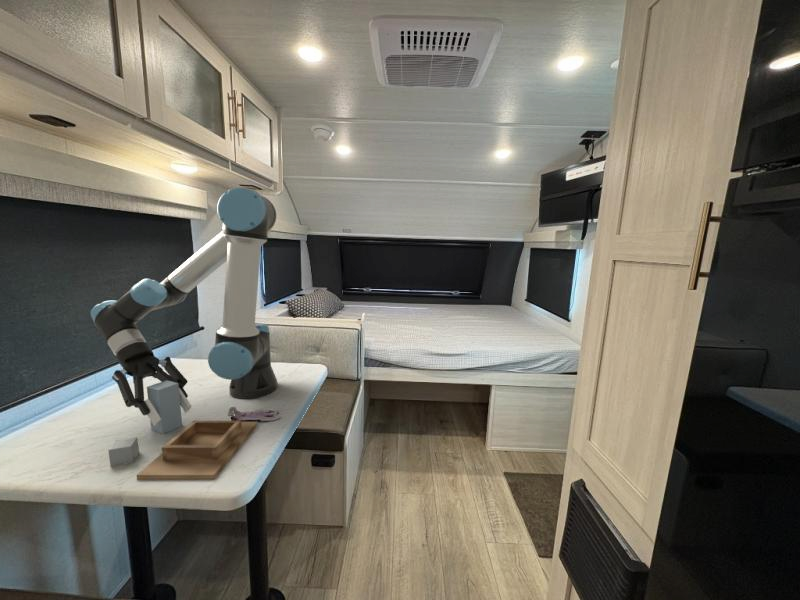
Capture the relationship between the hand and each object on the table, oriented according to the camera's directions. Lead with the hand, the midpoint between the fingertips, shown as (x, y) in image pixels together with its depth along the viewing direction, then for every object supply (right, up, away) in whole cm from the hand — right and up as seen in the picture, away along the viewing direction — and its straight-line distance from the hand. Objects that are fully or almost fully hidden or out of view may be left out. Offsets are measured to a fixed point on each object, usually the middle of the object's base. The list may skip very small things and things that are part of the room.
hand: (173, 415), depth 88 cm
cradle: (+13, -5, -8) cm, 16 cm away
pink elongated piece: (+19, -4, +7) cm, 20 cm away
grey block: (-3, -6, -12) cm, 14 cm away
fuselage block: (-3, -4, +2) cm, 5 cm away
